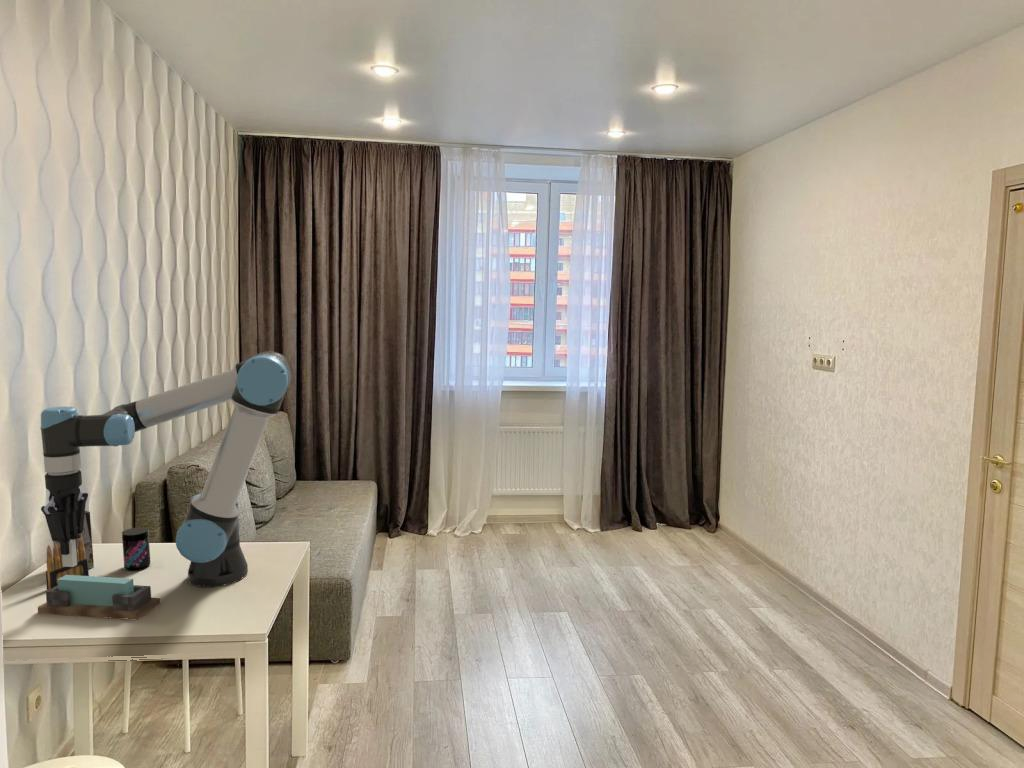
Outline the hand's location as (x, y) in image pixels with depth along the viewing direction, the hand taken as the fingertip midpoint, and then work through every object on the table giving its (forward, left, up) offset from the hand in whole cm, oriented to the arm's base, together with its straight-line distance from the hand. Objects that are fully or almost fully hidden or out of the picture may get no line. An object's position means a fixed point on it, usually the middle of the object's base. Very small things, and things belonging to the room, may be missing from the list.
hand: (70, 565), depth 180 cm
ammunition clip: (+12, -13, -11) cm, 21 cm away
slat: (-7, 0, -9) cm, 11 cm away
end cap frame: (-7, 0, -11) cm, 13 cm away
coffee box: (+18, -23, -11) cm, 31 cm away
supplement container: (+1, -26, -11) cm, 28 cm away
